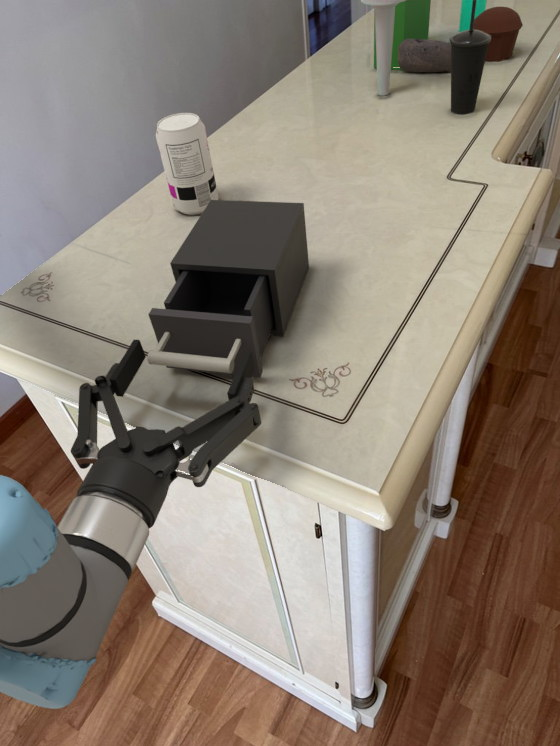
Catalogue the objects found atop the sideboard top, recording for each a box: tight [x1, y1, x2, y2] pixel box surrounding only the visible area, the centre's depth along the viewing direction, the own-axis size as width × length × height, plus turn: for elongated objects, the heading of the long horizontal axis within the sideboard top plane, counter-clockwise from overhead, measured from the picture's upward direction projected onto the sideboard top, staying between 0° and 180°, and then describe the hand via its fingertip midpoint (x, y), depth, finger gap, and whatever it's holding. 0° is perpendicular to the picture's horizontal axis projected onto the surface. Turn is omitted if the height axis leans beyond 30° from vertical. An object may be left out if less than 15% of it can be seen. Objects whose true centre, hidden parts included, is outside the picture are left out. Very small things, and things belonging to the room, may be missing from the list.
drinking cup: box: [449, 0, 491, 115], centre depth 116 cm, size 8×8×20 cm
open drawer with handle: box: [146, 270, 275, 379], centre depth 74 cm, size 20×13×9 cm, turn 166°
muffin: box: [473, 6, 523, 63], centre depth 140 cm, size 12×11×10 cm
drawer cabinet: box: [169, 199, 310, 337], centre depth 82 cm, size 16×14×11 cm
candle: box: [458, 0, 488, 33], centre depth 149 cm, size 6×6×12 cm
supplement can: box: [155, 112, 220, 216], centre depth 101 cm, size 8×8×15 cm
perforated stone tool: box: [397, 38, 451, 73], centre depth 138 cm, size 15×5×7 cm, turn 70°
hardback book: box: [373, 0, 432, 71], centre depth 141 cm, size 18×7×24 cm, turn 150°
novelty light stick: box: [360, 0, 406, 97], centre depth 125 cm, size 10×10×25 cm
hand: (193, 353), depth 67 cm, fingers open, 13 cm apart
